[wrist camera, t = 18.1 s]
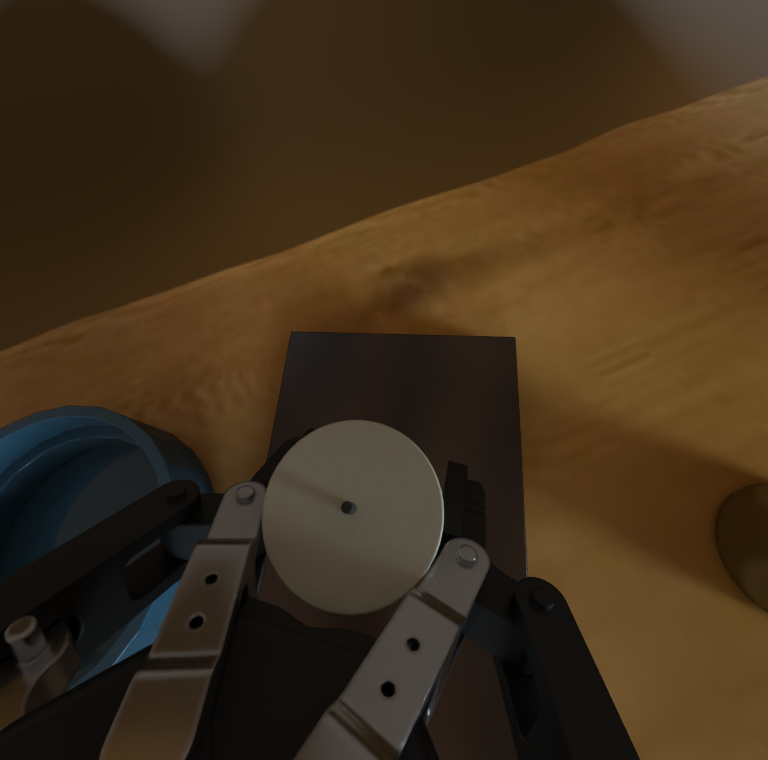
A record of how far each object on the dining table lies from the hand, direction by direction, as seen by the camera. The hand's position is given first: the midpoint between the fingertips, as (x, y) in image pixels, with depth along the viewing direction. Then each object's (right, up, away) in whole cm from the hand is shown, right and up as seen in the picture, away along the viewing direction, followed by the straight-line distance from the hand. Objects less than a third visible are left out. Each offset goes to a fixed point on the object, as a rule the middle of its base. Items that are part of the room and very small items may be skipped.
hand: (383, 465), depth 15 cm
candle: (0, -3, +3) cm, 5 cm away
